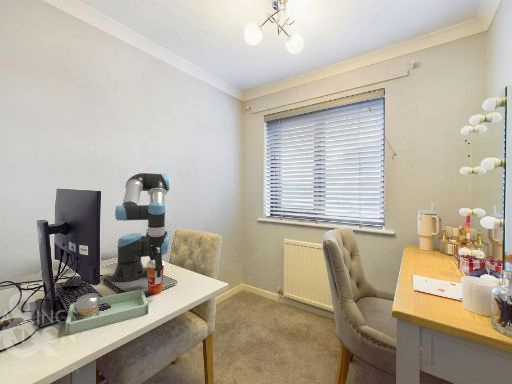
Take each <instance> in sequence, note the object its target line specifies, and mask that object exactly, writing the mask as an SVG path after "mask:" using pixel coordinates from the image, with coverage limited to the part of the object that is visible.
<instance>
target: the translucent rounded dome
mask: <svg viewBox="0 0 512 384" xmlns="http://www.w3.org/2000/svg"><path fill="white" fill-rule="evenodd" d="M99 298H100V294H99V293H97V292H95V293H93V292H92V293H91V292H90V293H86V294H83V295H81V296H79V297H78V298H77V299H76V302H77V321H78V320H82V319H86V318H90V317H95V316H99V303H100V302H99Z"/></svg>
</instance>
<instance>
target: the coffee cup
mask: <svg viewBox="0 0 512 384" xmlns="http://www.w3.org/2000/svg"><path fill="white" fill-rule="evenodd" d="M162 265H163V270H162V278H161V283H160V284H155V271H154V269H156V267H155V260H152V261H151V260H150V259H149V260H148V261H147V263H146V275H147V291H149V293H150V294H149V293H148V294H149V295H152V296H153V295H158V294H161V292H162V290H163V283H164V282H163V280H164V270H165V262H164V260H163V259H162ZM158 268H159V267H158Z"/></svg>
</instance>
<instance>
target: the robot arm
mask: <svg viewBox="0 0 512 384" xmlns="http://www.w3.org/2000/svg"><path fill="white" fill-rule="evenodd" d="M124 187H125V192H124V198H123V200H122V203H121V204H120V205H119V204H118V205H116V207H115V212H114V213H115V215H114V216H115V217H114V218H115V220H116V221H124V222H126V221H147V228H146V233H145V235H142V233H139V232H135V233H134V232H133V233H129V234H125V235H122V236H121V237H119V238H118V240H117V246H116V247H117V265H116V267H115V270H114V273H113V280H114V279H115V280H114V281H116V280H118V281H117V282H121V281H125V282H132V281H135V279H136V280H139V279H140V277H141V278H143V277H144V276H143V275H145V267H144V265H143V263H142V258H146V257H149V261H150V260H151V261H152V260H155V267H156V269H154V271H155V284H160V283H161V278H162V270H163V265H162V260H163V256H165V255H167V254H168V252H169V244H170V238H171V237H170V234H168V231H167V230H166V226H165V225H166V224H165V223H166V205H165V202H166V201H165V196H166V195H167V194H168V192H170V180H169V176H168V175H167V174H164V173H150V172H149V173H148V172H147V173H144V172H142V173H137V174H134V175H132V176H131V177H129V178H128V179H127V181H126V182H125V186H124ZM141 192H147V194H148V195H149V204H147V205H146V204H145V205H144V204H140V198H141ZM158 267H159V268H158ZM163 271H164V270H163ZM142 276H143V277H142ZM138 278H139V279H138ZM131 280H132V281H131Z"/></svg>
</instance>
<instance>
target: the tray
mask: <svg viewBox="0 0 512 384" xmlns="http://www.w3.org/2000/svg"><path fill="white" fill-rule="evenodd" d="M99 302H100V303H99V304H103V303H108V304H110V305H111V308H109V309H107V310H104V311H99V316H95V317H90V318H86V319H82V320H78V321H77V318H76V319H73V312H74V309H77V301H76V302H72V303H70V306H69V309H68V313H67V317H66V321H65V324H64V330H65V331H64V333H65V336H67V335H71V334H72V335H73V334H76V333H79V332H83V331H84V332H85V331H87V330H91V329H95V328H98V327H103V326H106V325H110V324H115V323H118V322H122V321H126V320H129V319H132V318H138V317H141V316H142V317H143V316H144V315H148V314H149V302H148V300H147V297H146V294H145V290H144V288H142V289H136V290H130V291H126V292H122V293H121V292H120V293H117V294H110V295H106V296H102V297H101V296H100V297H99Z"/></svg>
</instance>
